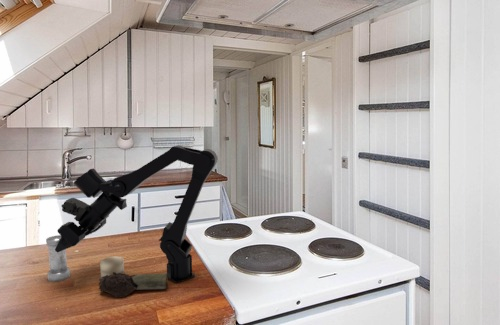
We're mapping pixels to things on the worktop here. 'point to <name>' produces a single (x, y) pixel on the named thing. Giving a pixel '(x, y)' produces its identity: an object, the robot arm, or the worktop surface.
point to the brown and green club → (131, 283)
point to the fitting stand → (112, 266)
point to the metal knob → (57, 261)
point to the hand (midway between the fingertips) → (65, 245)
